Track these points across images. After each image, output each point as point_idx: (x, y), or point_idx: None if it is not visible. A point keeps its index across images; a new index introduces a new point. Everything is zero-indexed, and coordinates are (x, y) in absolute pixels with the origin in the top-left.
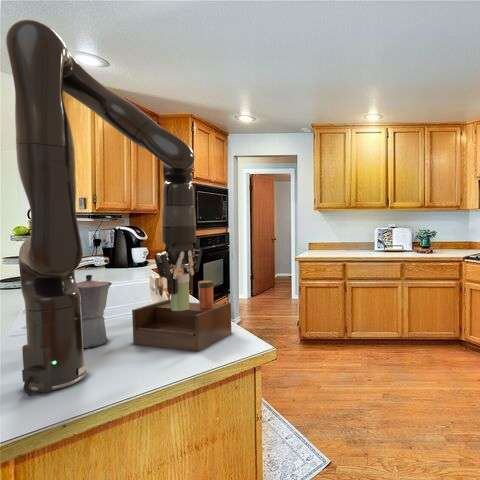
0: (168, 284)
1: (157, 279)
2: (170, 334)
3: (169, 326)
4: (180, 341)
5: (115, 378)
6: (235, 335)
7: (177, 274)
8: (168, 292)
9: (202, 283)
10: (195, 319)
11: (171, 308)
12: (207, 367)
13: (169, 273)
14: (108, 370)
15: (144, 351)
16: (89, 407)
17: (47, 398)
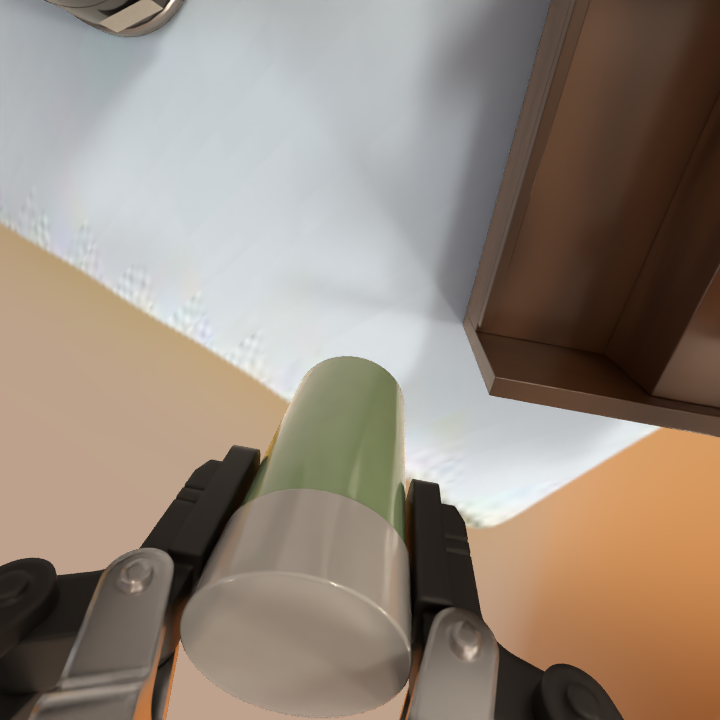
0: (168, 523)
1: None
2: (518, 182)
3: (685, 68)
4: (492, 243)
5: (202, 162)
6: None
7: (239, 651)
8: (231, 450)
9: None
10: (488, 370)
11: (301, 382)
12: None
13: (22, 695)
14: (250, 67)
15: (462, 66)
16: (54, 235)
17: (28, 35)
